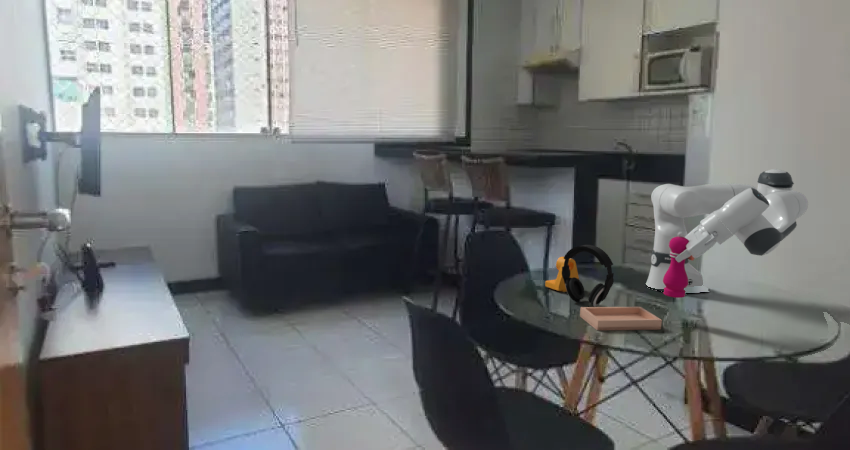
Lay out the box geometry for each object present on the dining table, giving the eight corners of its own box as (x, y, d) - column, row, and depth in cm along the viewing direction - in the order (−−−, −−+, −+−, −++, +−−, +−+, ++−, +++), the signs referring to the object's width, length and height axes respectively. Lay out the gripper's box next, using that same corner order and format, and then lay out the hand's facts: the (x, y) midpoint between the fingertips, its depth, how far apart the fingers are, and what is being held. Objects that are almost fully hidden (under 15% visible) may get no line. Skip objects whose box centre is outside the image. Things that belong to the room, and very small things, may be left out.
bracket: (564, 284, 225) (567, 253, 223) (579, 289, 219) (581, 257, 217) (543, 288, 219) (546, 256, 217) (558, 293, 213) (560, 260, 211)
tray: (639, 315, 190) (640, 306, 189) (660, 329, 177) (661, 319, 177) (579, 316, 187) (580, 307, 186) (597, 330, 174) (598, 320, 174)
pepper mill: (685, 293, 187) (692, 231, 184) (687, 299, 180) (695, 234, 177) (661, 290, 189) (667, 228, 186) (662, 296, 182) (669, 232, 179)
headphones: (614, 307, 197) (619, 249, 194) (602, 312, 192) (608, 252, 188) (568, 295, 210) (572, 240, 206) (555, 299, 204) (559, 242, 201)
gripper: (726, 244, 168) (685, 273, 173) (717, 232, 187) (680, 259, 192) (711, 227, 169) (670, 256, 174) (703, 217, 188) (667, 244, 193)
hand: (675, 258), depth 183 cm, fingers closed on pepper mill, 5 cm apart
